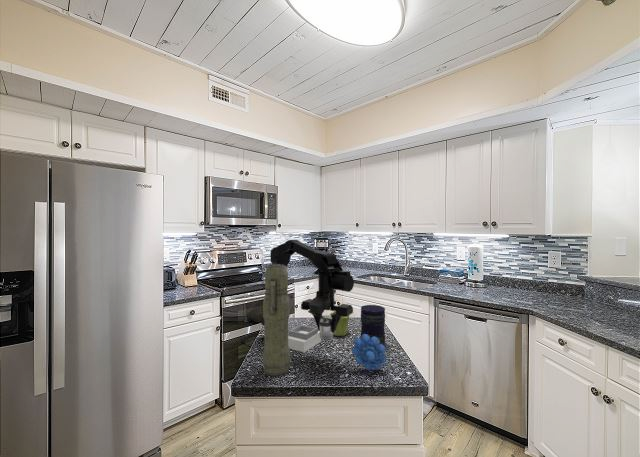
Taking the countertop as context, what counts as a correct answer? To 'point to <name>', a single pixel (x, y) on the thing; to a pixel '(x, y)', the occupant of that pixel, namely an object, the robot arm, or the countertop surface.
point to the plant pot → (341, 325)
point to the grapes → (369, 352)
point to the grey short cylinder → (326, 327)
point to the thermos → (276, 321)
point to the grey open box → (303, 338)
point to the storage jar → (373, 322)
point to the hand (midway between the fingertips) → (326, 331)
